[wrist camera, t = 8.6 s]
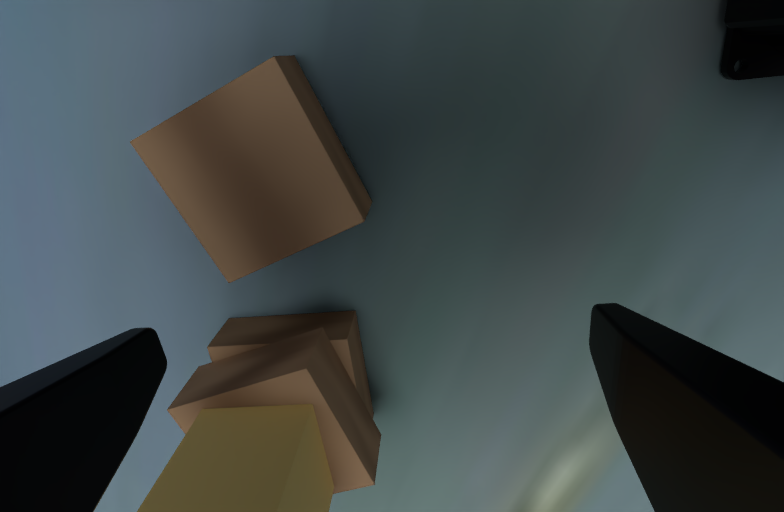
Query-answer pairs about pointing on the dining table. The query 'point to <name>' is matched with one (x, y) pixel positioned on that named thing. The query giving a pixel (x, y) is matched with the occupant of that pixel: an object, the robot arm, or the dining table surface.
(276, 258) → the walnut slab
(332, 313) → the walnut slab lower
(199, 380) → the walnut slab upper
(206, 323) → the dining table surface
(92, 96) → the dining table surface
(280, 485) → the mustard cube
